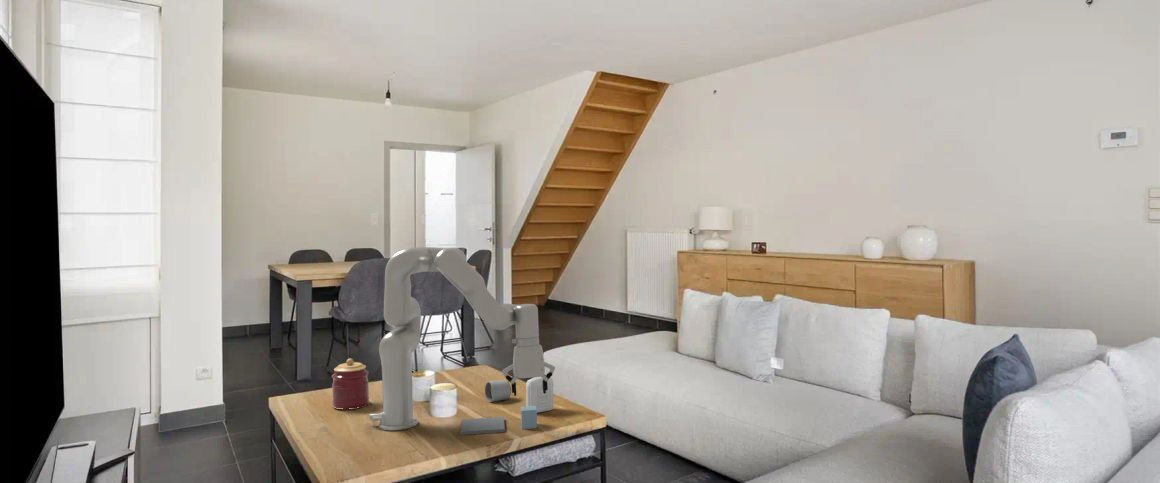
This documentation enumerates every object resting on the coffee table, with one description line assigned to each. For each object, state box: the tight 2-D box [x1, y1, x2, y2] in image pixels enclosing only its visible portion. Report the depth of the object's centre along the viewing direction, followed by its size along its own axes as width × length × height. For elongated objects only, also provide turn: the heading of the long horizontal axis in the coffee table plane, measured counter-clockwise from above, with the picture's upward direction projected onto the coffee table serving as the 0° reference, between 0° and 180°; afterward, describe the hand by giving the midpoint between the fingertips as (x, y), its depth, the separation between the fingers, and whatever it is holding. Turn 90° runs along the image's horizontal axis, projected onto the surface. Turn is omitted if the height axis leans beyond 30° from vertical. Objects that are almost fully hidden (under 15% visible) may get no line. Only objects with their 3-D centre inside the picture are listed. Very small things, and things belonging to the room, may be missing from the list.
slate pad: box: [459, 416, 506, 436], centre depth 206 cm, size 14×13×1 cm
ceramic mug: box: [484, 380, 512, 403], centre depth 239 cm, size 11×8×8 cm
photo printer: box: [525, 376, 554, 414], centre depth 222 cm, size 10×4×12 cm, turn 123°
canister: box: [331, 358, 370, 409], centre depth 234 cm, size 13×13×18 cm
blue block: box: [520, 405, 538, 430], centre depth 206 cm, size 5×5×6 cm
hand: (529, 393), depth 206 cm, fingers open, 9 cm apart
